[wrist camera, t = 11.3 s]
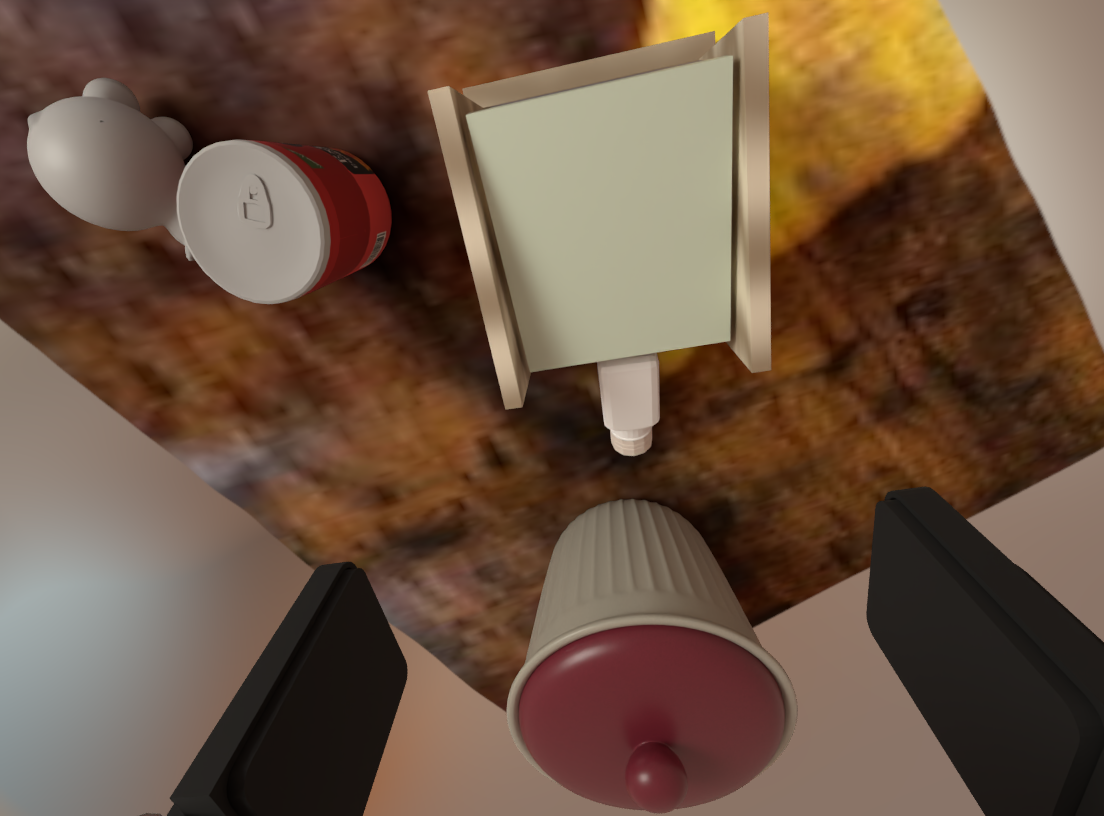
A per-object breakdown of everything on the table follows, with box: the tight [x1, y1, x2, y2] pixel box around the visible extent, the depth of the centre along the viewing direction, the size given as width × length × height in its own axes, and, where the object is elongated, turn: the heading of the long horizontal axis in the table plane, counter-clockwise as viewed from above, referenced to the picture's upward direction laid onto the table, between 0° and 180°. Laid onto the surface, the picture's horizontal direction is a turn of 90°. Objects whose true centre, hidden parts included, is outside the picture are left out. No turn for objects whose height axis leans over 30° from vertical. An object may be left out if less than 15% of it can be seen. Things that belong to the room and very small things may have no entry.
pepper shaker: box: [597, 353, 660, 456], centre depth 37 cm, size 4×4×10 cm
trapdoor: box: [466, 55, 733, 372], centre depth 28 cm, size 14×12×2 cm
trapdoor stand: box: [428, 13, 771, 409], centre depth 30 cm, size 18×15×11 cm
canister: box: [507, 499, 798, 813], centre depth 38 cm, size 18×18×21 cm
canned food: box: [176, 139, 392, 304], centre depth 31 cm, size 8×8×11 cm
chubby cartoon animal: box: [27, 78, 195, 261], centre depth 32 cm, size 7×12×8 cm, turn 44°
